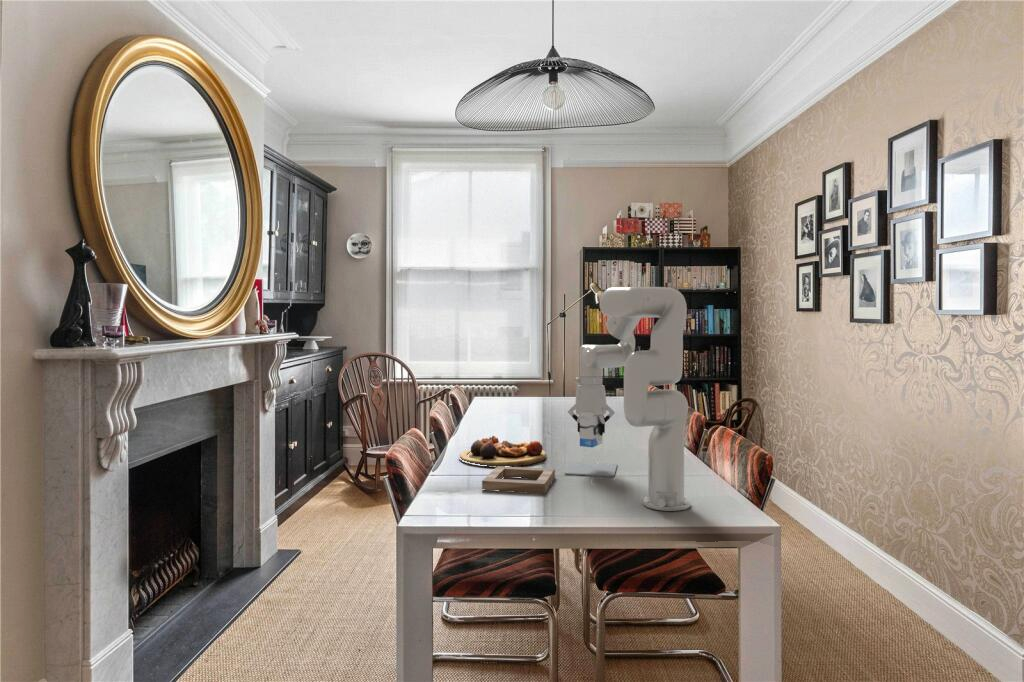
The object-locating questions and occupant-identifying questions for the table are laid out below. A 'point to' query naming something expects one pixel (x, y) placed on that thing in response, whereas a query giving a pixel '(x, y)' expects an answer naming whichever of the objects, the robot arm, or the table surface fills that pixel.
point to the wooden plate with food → (503, 453)
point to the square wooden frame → (539, 486)
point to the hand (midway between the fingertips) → (591, 434)
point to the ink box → (589, 429)
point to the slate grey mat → (591, 469)
